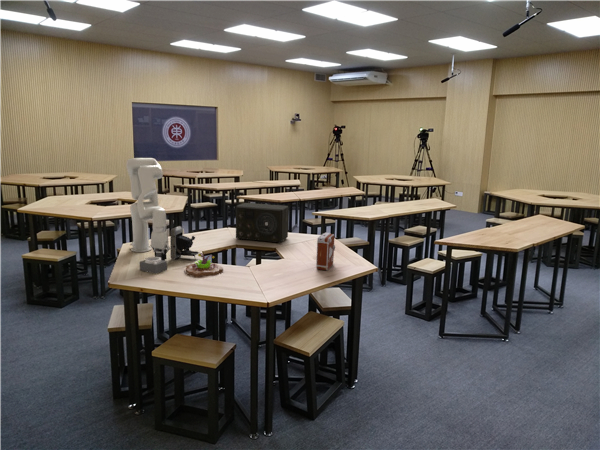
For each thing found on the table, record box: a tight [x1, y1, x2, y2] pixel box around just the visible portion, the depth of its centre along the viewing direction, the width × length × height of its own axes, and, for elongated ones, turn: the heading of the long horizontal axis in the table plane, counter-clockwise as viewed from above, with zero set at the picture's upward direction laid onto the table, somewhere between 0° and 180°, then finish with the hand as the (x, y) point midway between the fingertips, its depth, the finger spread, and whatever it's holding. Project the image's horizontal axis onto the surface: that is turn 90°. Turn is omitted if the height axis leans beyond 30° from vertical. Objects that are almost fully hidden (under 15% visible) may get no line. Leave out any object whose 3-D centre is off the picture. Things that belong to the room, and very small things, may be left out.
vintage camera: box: [169, 225, 201, 260], centre depth 274 cm, size 10×15×20 cm, turn 78°
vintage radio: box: [235, 202, 290, 244], centre depth 327 cm, size 38×20×25 cm, turn 76°
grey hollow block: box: [138, 256, 168, 275], centre depth 252 cm, size 12×9×6 cm
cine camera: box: [315, 232, 336, 271], centre depth 267 cm, size 9×19×20 cm, turn 161°
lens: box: [156, 248, 166, 261], centre depth 266 cm, size 5×5×8 cm
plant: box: [185, 252, 224, 278], centre depth 252 cm, size 20×20×11 cm
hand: (160, 258), depth 267 cm, fingers closed on lens, 5 cm apart
